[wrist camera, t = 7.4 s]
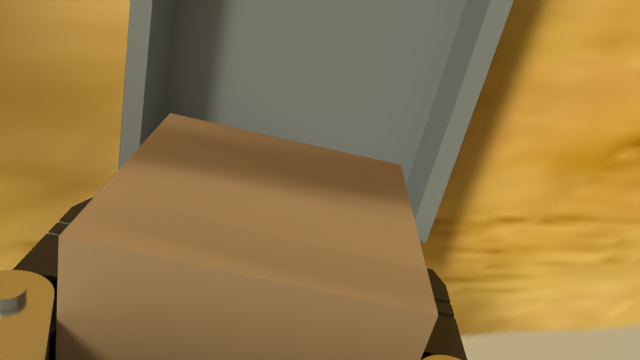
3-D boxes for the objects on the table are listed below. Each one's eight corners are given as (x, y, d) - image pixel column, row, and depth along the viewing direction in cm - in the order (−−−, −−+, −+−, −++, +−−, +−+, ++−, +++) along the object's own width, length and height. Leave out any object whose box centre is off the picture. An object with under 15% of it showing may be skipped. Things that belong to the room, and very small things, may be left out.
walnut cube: (170, 113, 11) (58, 236, 7) (400, 164, 12) (438, 315, 7) (148, 301, 14) (51, 490, 9) (344, 341, 14) (346, 542, 9)
